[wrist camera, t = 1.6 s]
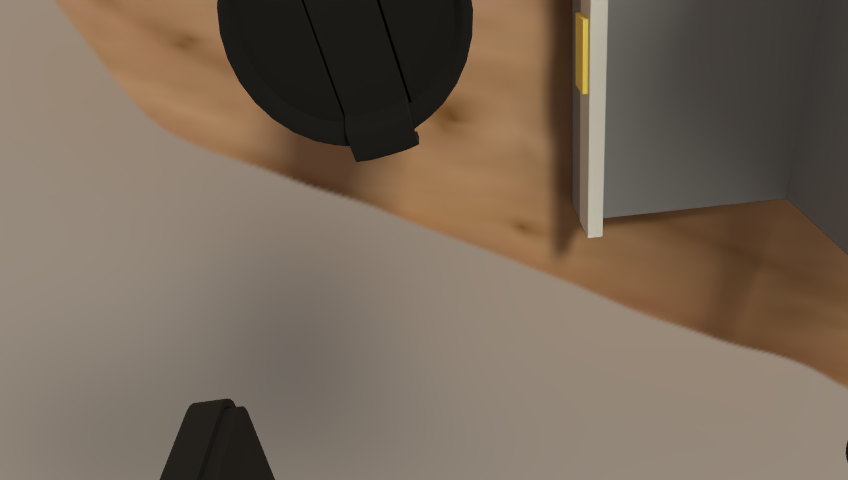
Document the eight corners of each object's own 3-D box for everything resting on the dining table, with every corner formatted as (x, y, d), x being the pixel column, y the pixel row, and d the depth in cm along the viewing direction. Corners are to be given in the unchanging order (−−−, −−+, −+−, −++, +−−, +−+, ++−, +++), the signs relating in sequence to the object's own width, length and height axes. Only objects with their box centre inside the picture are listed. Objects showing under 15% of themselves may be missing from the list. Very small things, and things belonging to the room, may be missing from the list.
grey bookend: (565, -183, 31) (668, -204, 18) (862, -222, 30) (1168, -270, 18) (567, 205, 41) (635, 356, 29) (790, 181, 40) (956, 324, 28)
